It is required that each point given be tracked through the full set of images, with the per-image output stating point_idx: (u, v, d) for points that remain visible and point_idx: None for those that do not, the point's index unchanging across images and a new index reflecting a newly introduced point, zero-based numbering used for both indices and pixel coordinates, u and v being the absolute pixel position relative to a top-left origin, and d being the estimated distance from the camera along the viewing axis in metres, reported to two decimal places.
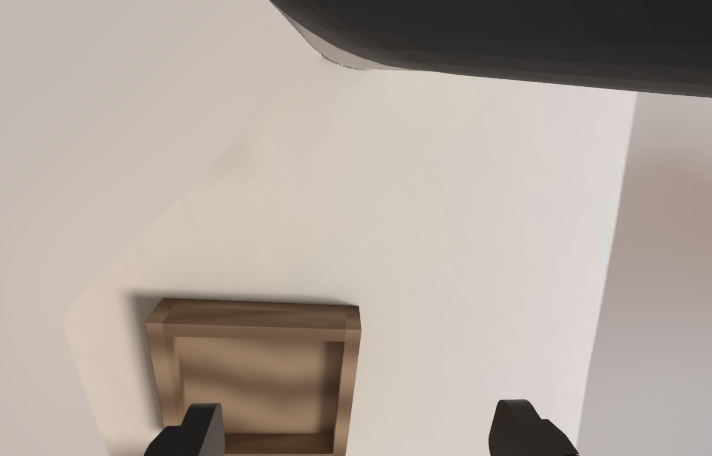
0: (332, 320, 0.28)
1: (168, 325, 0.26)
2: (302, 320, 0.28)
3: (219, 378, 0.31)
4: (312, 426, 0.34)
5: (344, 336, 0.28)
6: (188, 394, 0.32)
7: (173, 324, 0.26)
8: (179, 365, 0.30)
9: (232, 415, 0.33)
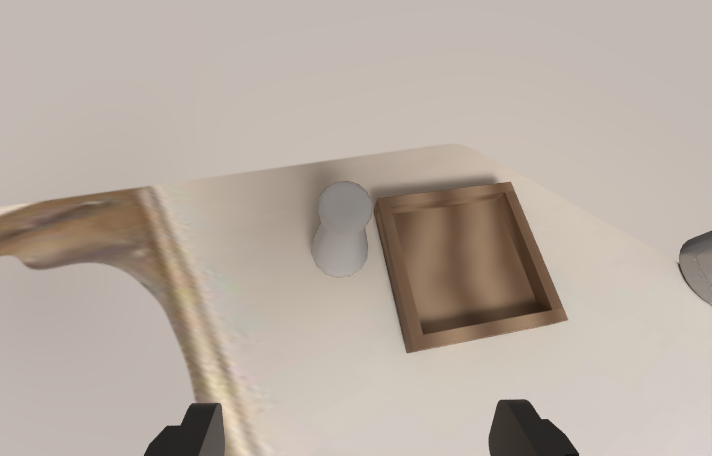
0: None
1: (514, 194, 0.40)
2: None
3: (454, 230, 0.40)
4: (422, 314, 0.36)
5: (556, 308, 0.35)
6: (430, 211, 0.41)
7: (516, 196, 0.40)
8: (462, 203, 0.41)
9: (417, 244, 0.39)
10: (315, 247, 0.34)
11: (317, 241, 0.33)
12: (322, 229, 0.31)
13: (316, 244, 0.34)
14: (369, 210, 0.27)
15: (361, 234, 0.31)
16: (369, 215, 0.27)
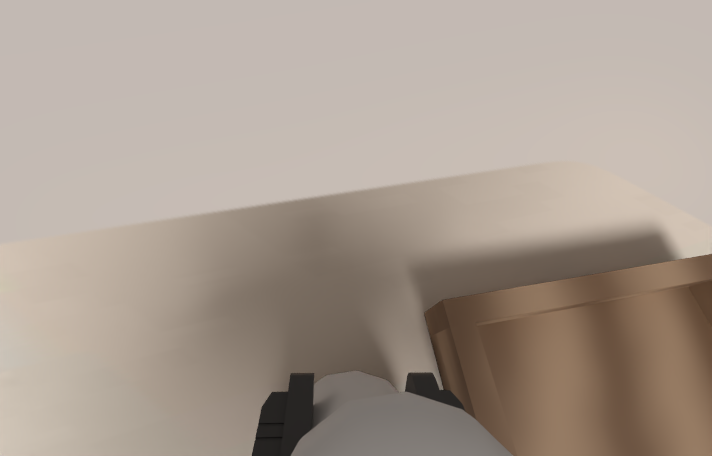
0: None
1: None
2: None
3: (613, 367, 0.17)
4: None
5: None
6: (555, 317, 0.18)
7: None
8: (621, 298, 0.18)
9: (535, 408, 0.16)
10: None
11: None
12: None
13: None
14: None
15: None
16: None
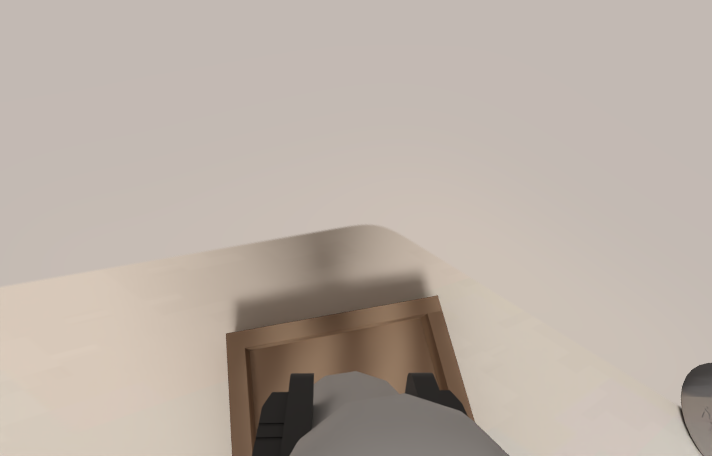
0: None
1: (441, 316, 0.27)
2: None
3: None
4: None
5: None
6: (318, 341, 0.27)
7: (444, 321, 0.27)
8: (366, 328, 0.28)
9: None
10: None
11: None
12: None
13: None
14: None
15: None
16: None
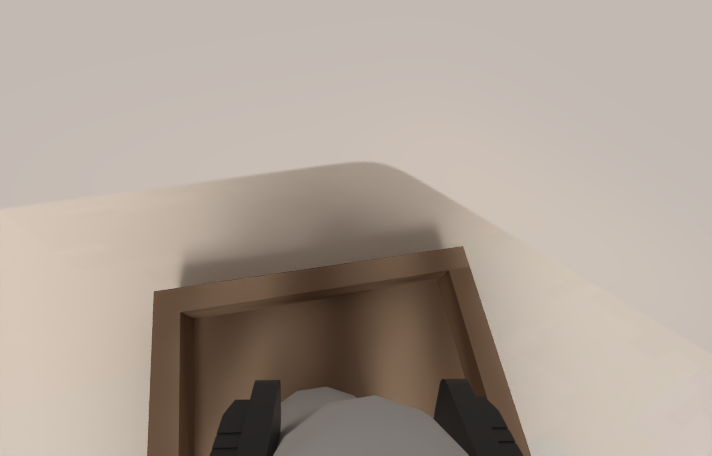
0: None
1: (468, 274, 0.19)
2: None
3: (337, 354, 0.19)
4: None
5: None
6: (293, 308, 0.19)
7: (473, 281, 0.19)
8: (361, 291, 0.20)
9: (247, 392, 0.17)
10: None
11: None
12: None
13: None
14: None
15: None
16: None
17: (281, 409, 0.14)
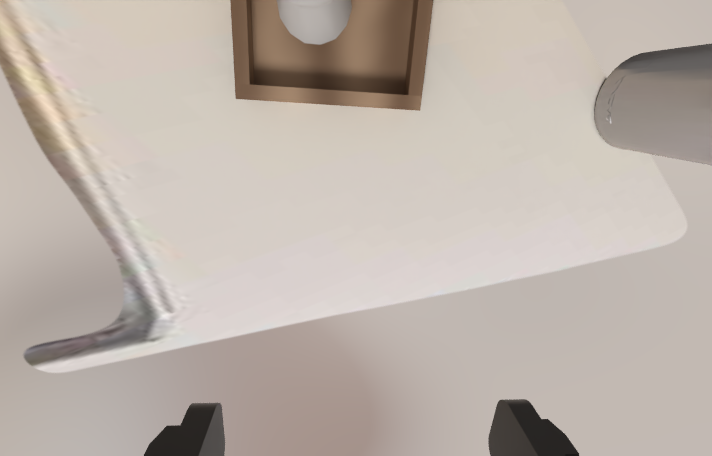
0: None
1: None
2: None
3: None
4: (265, 60, 0.31)
5: (414, 94, 0.31)
6: None
7: None
8: None
9: None
10: None
11: None
12: None
13: None
14: None
15: (334, 1, 0.23)
16: None
17: None
